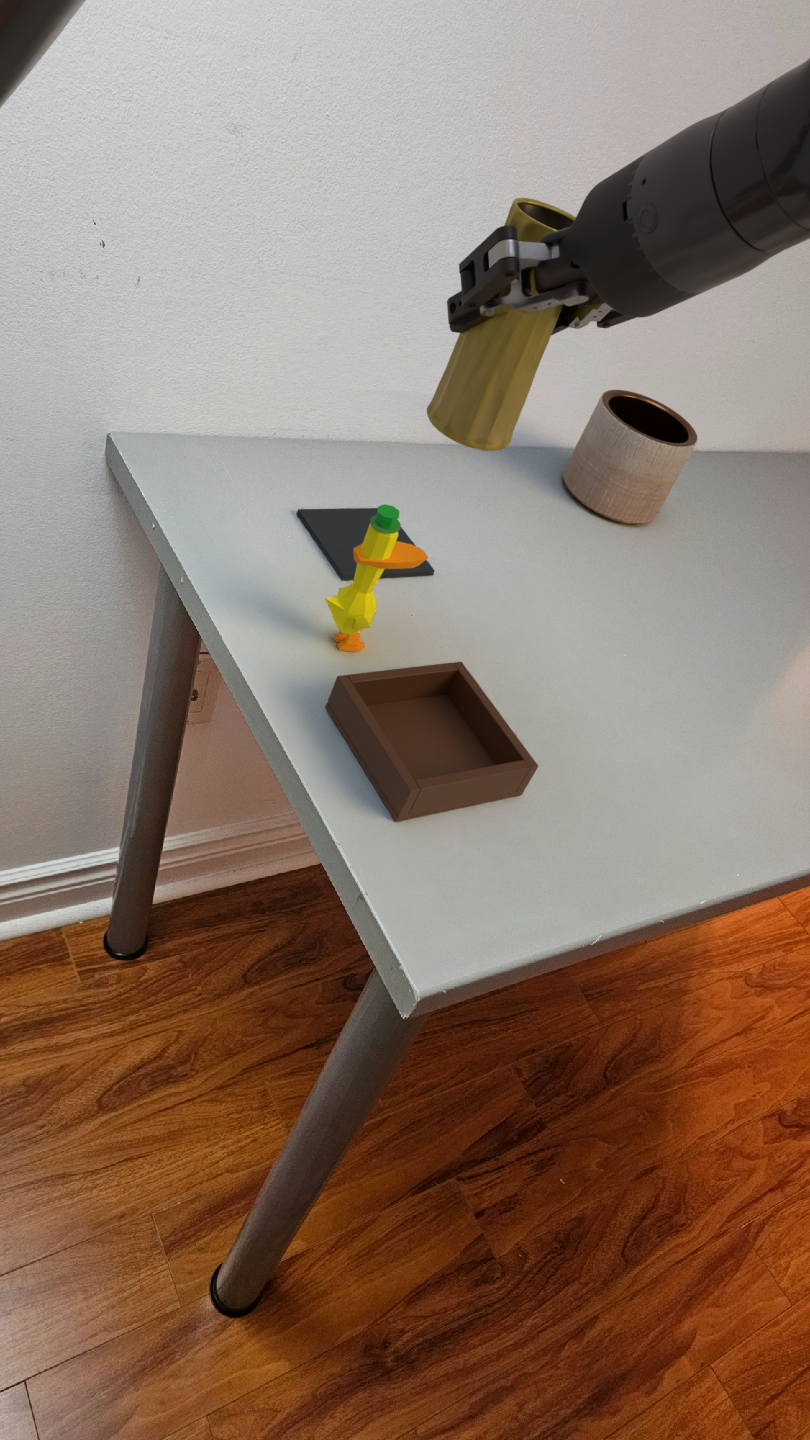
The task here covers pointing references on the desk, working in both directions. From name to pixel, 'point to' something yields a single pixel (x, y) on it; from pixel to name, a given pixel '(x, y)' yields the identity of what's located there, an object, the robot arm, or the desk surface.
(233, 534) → the desk surface
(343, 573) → the mat
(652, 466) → the planter
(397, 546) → the toy figure
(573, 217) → the vase
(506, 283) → the robot arm
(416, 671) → the tray
